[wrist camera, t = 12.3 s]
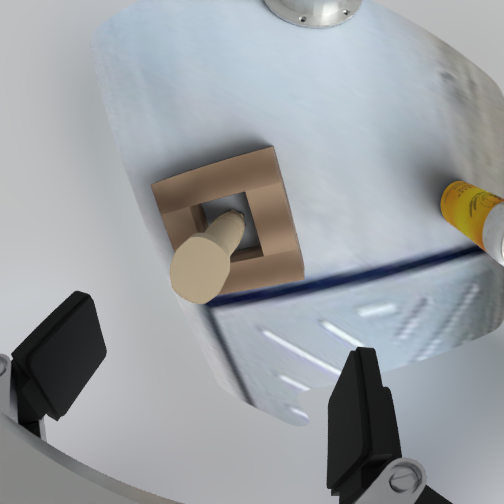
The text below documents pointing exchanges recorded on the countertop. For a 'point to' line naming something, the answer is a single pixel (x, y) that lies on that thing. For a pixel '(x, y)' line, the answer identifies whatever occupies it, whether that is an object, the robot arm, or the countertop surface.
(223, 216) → the tan flared peg
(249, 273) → the keyed socket block
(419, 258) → the countertop surface
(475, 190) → the beer can
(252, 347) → the countertop surface
